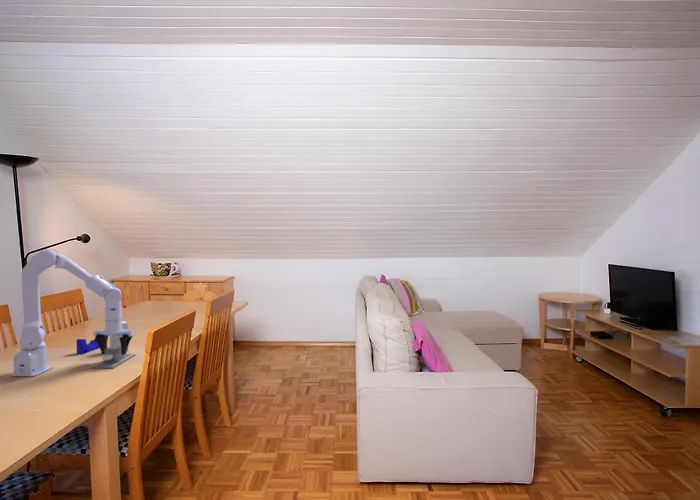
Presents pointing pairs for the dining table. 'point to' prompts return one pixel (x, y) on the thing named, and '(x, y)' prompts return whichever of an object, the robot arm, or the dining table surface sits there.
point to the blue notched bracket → (86, 346)
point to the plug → (113, 354)
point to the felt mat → (112, 365)
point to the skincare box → (115, 339)
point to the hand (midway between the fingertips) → (114, 354)
